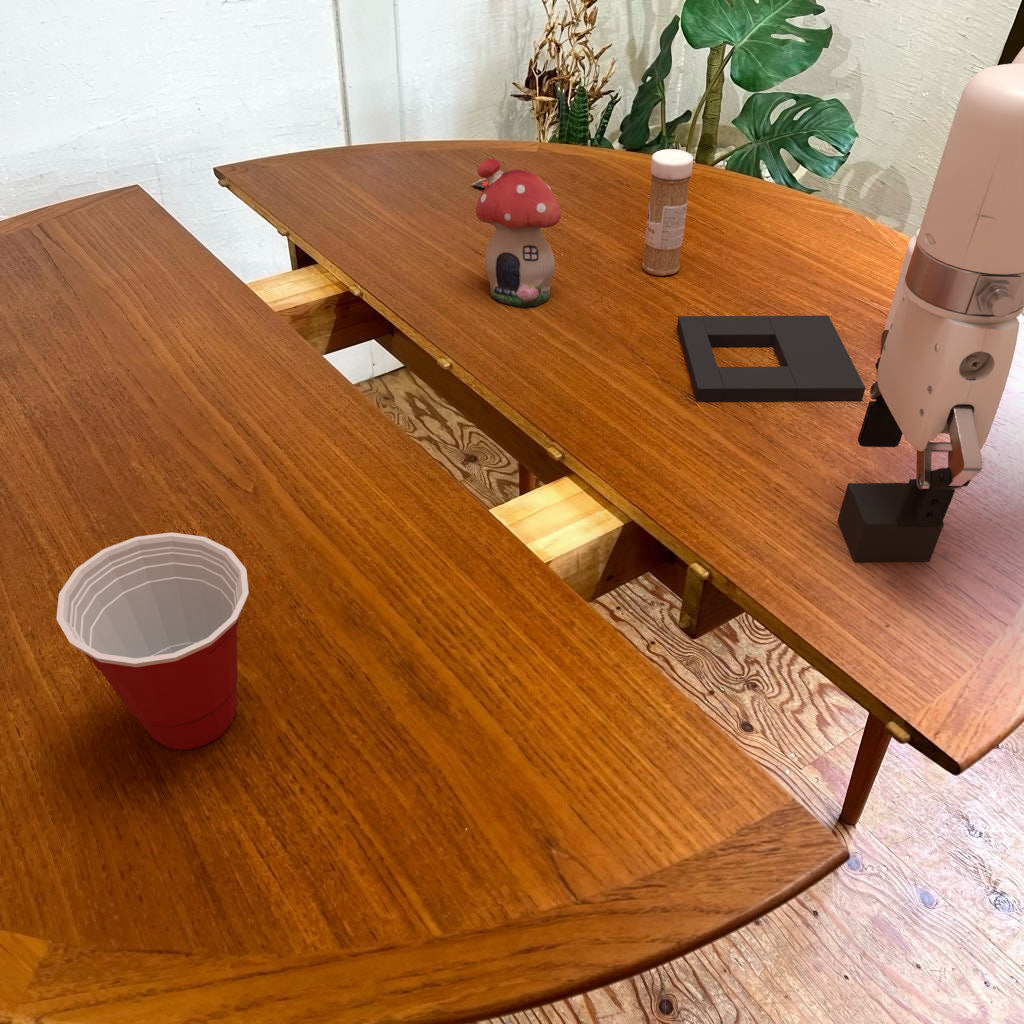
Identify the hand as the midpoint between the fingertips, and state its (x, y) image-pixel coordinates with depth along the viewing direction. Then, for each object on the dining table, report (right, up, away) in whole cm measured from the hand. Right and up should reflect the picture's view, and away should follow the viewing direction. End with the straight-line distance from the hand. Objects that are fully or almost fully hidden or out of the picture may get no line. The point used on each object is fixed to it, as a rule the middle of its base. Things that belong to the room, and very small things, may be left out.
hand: (896, 482), depth 73 cm
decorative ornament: (-29, +22, +36) cm, 51 cm away
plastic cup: (-50, -16, -9) cm, 54 cm away
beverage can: (+13, +15, +27) cm, 34 cm away
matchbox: (-32, +43, +60) cm, 80 cm away
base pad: (-4, +13, +25) cm, 28 cm away
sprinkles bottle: (-12, +26, +41) cm, 50 cm away
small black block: (+1, -5, +4) cm, 6 cm away
